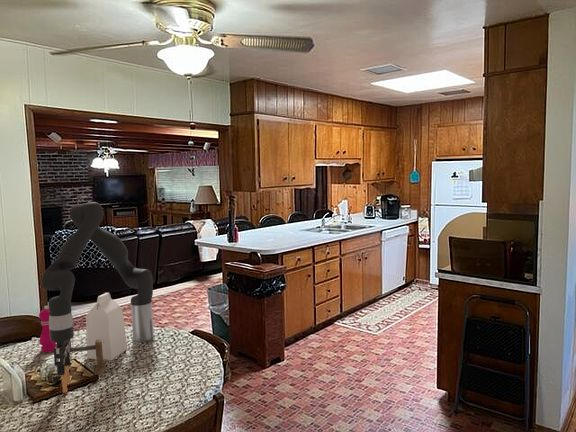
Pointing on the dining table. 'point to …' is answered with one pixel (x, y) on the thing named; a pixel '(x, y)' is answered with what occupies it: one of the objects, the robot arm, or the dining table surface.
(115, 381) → the dining table surface
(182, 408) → the dining table surface
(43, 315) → the pepper mill
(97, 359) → the hook frame
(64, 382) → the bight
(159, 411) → the dining table surface
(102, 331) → the milk
